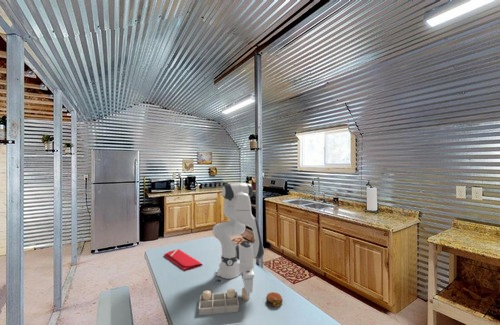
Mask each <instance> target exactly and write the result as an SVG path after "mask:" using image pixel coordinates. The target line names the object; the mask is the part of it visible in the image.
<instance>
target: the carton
mask: <svg viewBox="0 0 500 325" xmlns="http://www.w3.org/2000/svg"><path fill="white" fill-rule="evenodd" d="M199 296H200V297H199V304H198V316H204V315H213V314H215V315H216V314H227V313H236V312H237V313H239V312H240V302H239V301H240V300H239V297H238V291H235V298H234V299H227V292H215V293H211V300H209V301H203V293H202V294H201V293H200V295H199Z"/></svg>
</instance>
